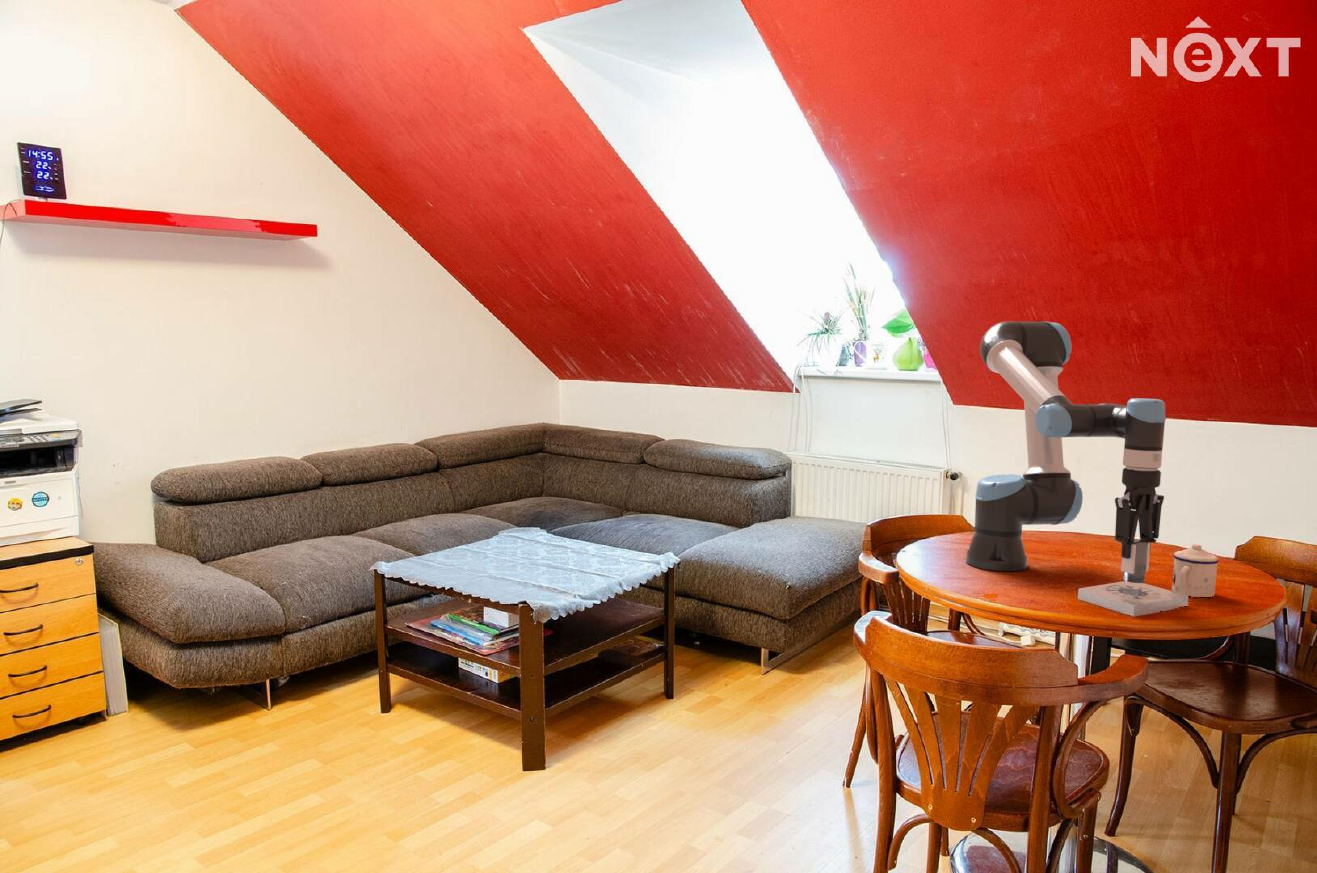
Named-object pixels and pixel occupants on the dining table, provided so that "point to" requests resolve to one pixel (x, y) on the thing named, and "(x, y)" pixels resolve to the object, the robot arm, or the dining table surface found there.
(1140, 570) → the grey upright prism
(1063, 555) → the dining table surface
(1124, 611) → the tile
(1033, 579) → the dining table surface
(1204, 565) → the teacup with lid
